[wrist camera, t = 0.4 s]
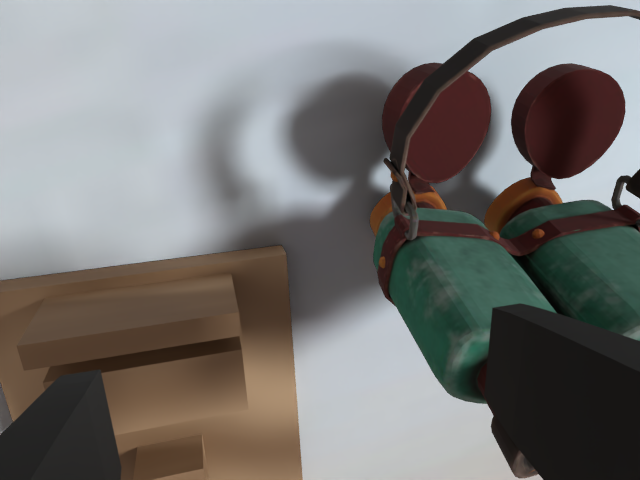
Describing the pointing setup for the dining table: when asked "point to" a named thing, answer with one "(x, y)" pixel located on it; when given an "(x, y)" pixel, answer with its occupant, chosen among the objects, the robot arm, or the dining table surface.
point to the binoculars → (503, 211)
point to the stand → (168, 359)
